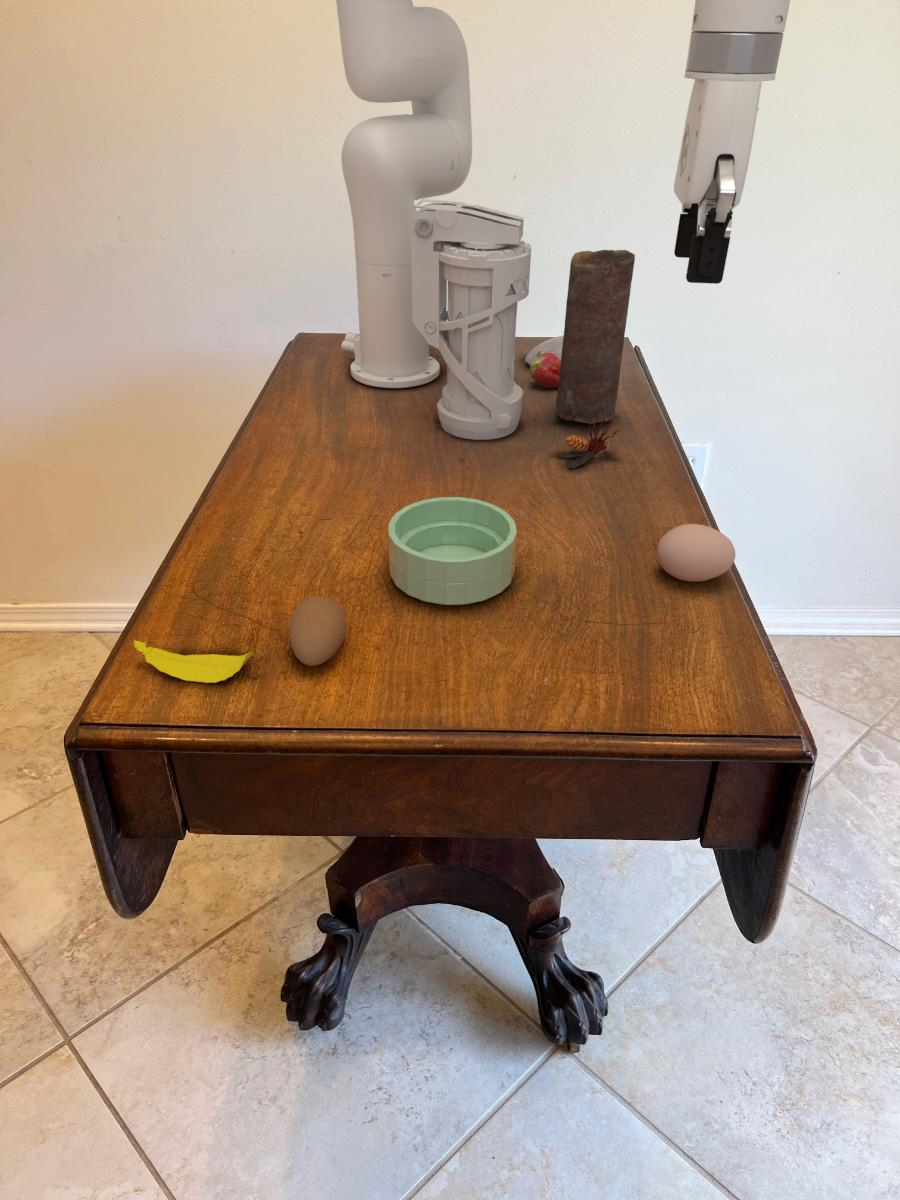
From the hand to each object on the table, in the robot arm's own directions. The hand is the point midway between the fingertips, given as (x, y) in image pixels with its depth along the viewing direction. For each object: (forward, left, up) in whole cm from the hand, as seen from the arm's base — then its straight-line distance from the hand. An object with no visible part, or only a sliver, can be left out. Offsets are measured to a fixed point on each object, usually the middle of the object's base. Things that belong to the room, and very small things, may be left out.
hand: (696, 269), depth 81 cm
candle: (-14, +8, -22) cm, 27 cm away
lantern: (-25, -1, -22) cm, 33 cm away
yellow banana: (-19, -51, -20) cm, 58 cm away
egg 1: (-12, -43, -18) cm, 49 cm away
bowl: (-8, -31, -22) cm, 38 cm away
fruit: (-23, +16, -22) cm, 36 cm away
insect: (-8, -2, -17) cm, 19 cm away
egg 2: (+7, -20, -19) cm, 29 cm away
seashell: (-26, +25, -22) cm, 42 cm away
